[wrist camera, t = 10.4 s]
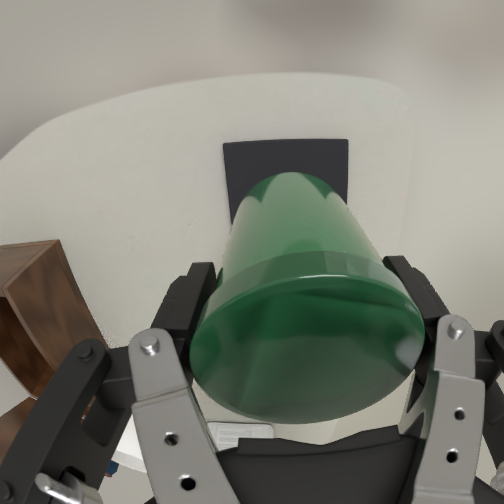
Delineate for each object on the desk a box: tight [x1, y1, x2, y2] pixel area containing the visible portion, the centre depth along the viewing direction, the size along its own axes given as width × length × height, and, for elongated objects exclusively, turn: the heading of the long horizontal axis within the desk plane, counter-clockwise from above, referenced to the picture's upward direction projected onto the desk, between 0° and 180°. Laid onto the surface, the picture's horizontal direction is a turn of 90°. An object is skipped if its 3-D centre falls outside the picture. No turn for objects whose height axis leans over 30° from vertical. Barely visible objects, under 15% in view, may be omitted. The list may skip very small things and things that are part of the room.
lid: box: [0, 397, 84, 465], centre depth 15 cm, size 21×14×5 cm
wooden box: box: [0, 240, 109, 418], centre depth 24 cm, size 20×14×8 cm
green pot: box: [189, 172, 425, 424], centre depth 11 cm, size 6×6×9 cm
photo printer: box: [207, 422, 274, 451], centre depth 31 cm, size 10×4×12 cm, turn 97°
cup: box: [111, 415, 147, 473], centre depth 32 cm, size 12×12×10 cm
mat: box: [223, 139, 348, 225], centre depth 19 cm, size 8×8×1 cm
